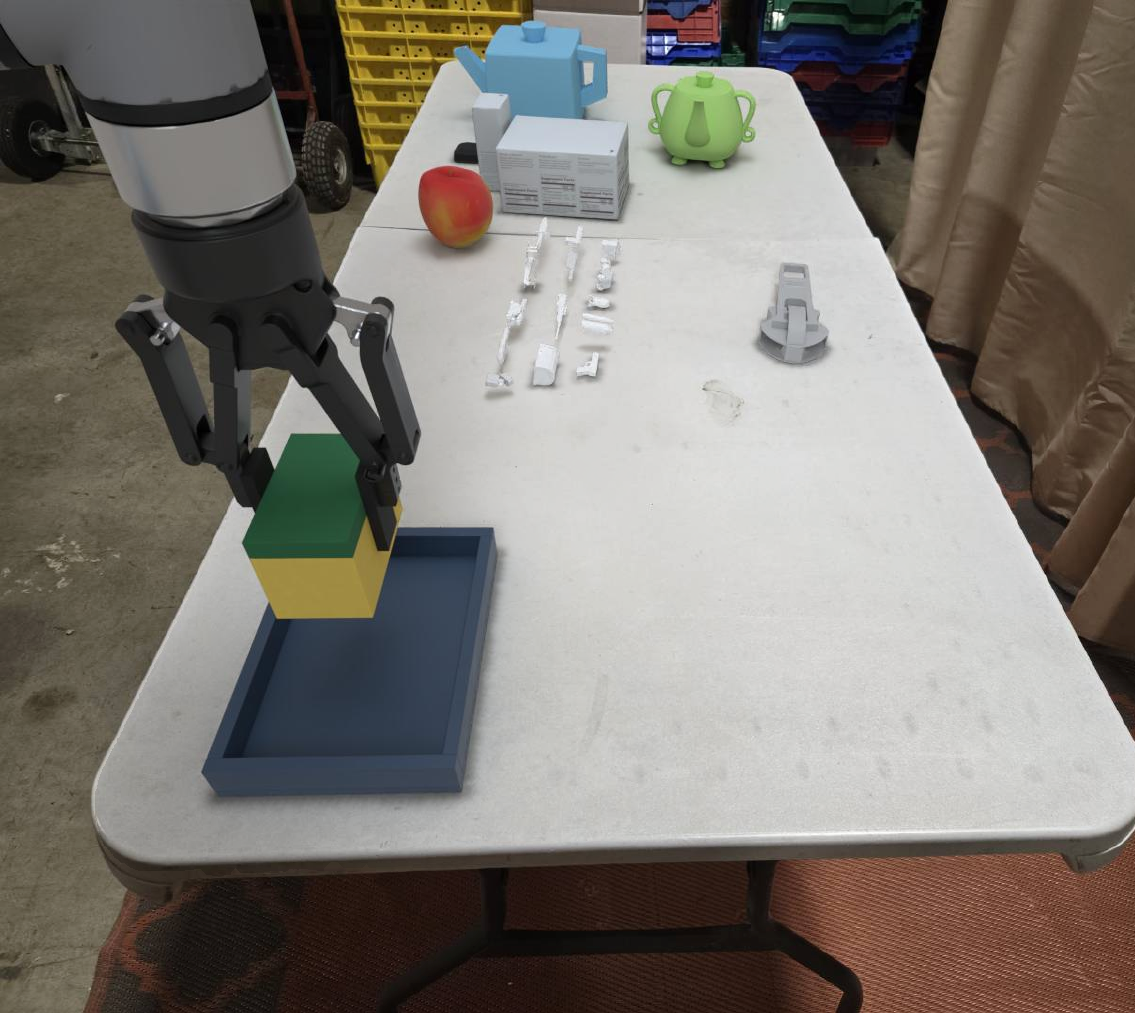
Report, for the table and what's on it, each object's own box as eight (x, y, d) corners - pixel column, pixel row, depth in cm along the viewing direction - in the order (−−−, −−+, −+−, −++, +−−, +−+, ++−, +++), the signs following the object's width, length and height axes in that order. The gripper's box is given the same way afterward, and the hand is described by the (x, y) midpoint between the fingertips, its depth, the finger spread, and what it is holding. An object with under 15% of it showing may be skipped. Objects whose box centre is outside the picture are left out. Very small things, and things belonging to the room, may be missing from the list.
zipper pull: (821, 288, 108) (827, 257, 105) (827, 366, 95) (833, 333, 92) (760, 283, 109) (764, 252, 106) (757, 360, 96) (762, 327, 93)
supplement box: (629, 183, 129) (630, 120, 122) (618, 222, 119) (618, 155, 113) (520, 175, 129) (515, 112, 123) (500, 213, 120) (493, 146, 114)
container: (603, 144, 140) (601, 42, 129) (453, 136, 140) (438, 33, 129) (611, 108, 152) (610, 12, 142) (472, 101, 152) (461, 4, 141)
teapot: (766, 168, 136) (776, 84, 127) (692, 184, 130) (697, 97, 121) (711, 134, 145) (717, 54, 137) (640, 147, 140) (641, 64, 131)
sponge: (373, 618, 54) (347, 542, 49) (276, 619, 53) (241, 542, 48) (403, 508, 61) (383, 433, 56) (318, 509, 60) (290, 433, 56)
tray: (461, 792, 57) (454, 767, 54) (217, 797, 56) (200, 772, 54) (497, 553, 73) (493, 526, 70) (308, 554, 72) (297, 527, 69)
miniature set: (533, 236, 113) (622, 253, 115) (484, 405, 89) (598, 424, 91) (536, 191, 108) (630, 210, 110) (486, 358, 85) (606, 379, 86)
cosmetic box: (489, 174, 129) (480, 91, 121) (517, 176, 129) (509, 93, 121) (480, 190, 125) (470, 106, 117) (509, 192, 125) (500, 108, 117)
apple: (484, 263, 109) (475, 188, 102) (413, 256, 110) (399, 180, 103) (504, 230, 116) (497, 157, 109) (437, 224, 117) (425, 151, 110)
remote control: (552, 159, 136) (459, 149, 136) (552, 147, 135) (458, 138, 134) (547, 171, 132) (452, 161, 132) (547, 160, 131) (451, 150, 131)
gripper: (434, 164, 43) (488, 497, 59) (44, 156, 41) (207, 497, 57) (406, 232, 37) (474, 578, 53) (-43, 226, 36) (164, 580, 52)
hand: (335, 536), depth 55 cm, fingers closed on sponge, 6 cm apart
